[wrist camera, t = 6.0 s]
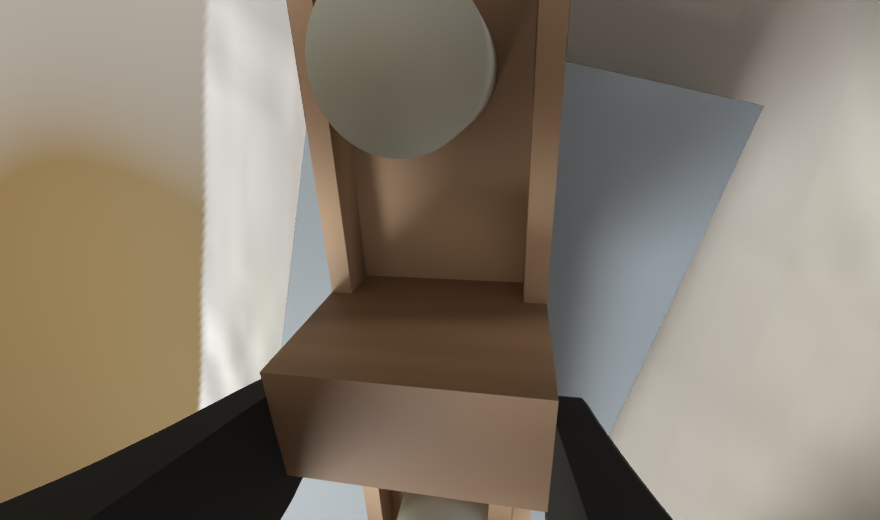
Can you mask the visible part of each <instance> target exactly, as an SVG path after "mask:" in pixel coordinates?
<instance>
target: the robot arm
mask: <svg viewBox="0 0 880 520" xmlns="http://www.w3.org/2000/svg"><path fill="white" fill-rule="evenodd" d="M558 399H559V403H558V413H557V423H556V432H555V442H554V452H553V463H552V473H551V482H550V492H549V502H548V512H545V520H673V519H672V518H671V517H670V516H669V514H668V513H667V512H666V511H665V509H664V508H663V507H662V506H661V505H660V503H659V502H658V501H657V500H656V498H655V497H654V496H653V494H652V493H651V492H650V491H649V489H648V488H647V487H646V485H645V484H644V483H643V482H642V480H641V479H640V478H639V476H638V475H637V474H636V473H635V471H634V470H633V469H632V467H631V466H630V465H629V463H628V462H627V461H626V459H625V458H624V457H623V455H622V454H621V453H620V451H619V450H618V448H617V447H616V446H615V444H614V443H613V441H612V440H611V439H610V437H609V436H608V434H607V433H606V431H605V430H604V428H603V427H602V426H601V424H600V423H599V421H598V420H597V418H596V417H595V415H594V413H593V412H592V410H591V409H590V407H589V406H588V404H587V403H586V402H585V401H584V400H583V399H582V398H580V397H568V396H558ZM302 479H303V477H297V476H290V475H287V472H286V468H285V465H284V461H283V457H282V454H281V450H280V447H279V443H278V440H277V436H276V433H275V429H274V425H273V421H272V417H271V413H270V410H269V406H268V402H267V398H266V394H265V390H264V386H263V382H262V379H260V380H258V381H256V382H254V383H252V384H250V385H248V386H246V387H244V388H242V389H240V390H238V391H236V392H234V393H232V394H230V395H228V396H227V397H225V398H223V399H221V400H219V401H217V402H215V403H213V404H211V405H209V406H207V407H205V408H204V409H202V410H200V411H198V412H196V413H194V414H192V415H190V416H188V417H186V418H184V419H182V420H181V421H179V422H177V423H175V424H173V425H171V426H169V427H167V428H165V429H163V430H161V431H159V432H157V433H155V434H153V435H151V436H149V437H147V438H145V439H143V440H141V441H138V442H136V443H135V444H132V445H130V446H128V447H126V448H124V449H122V450H120V451H118V452H116V453H114V454H112V455H110V456H108V457H106V458H104V459H102V460H100V461H98V462H95V463H93V464H91V465H89V466H87V467H84V468H82V469H80V470H78V471H76V472H73V473H71V474H69V475H67V476H64V477H62V478H60V479H58V480H55V481H53V482H50V483H48V484H46V485H44V486H41V487H39V488H36V489H34V490H32V491H29V492H27V493H24V494H22V495H20V496H17V497H15V498H13V499H10V500H8V501H5V502H3V503H0V520H281V518H282V517H283V515H284V513H285V512H286V510H287V508H288V506H289V505H290V503H291V501H292V499H293V497H294V495H295V493H296V491H297V489H298V487H299V485H300V483H301V481H302Z"/></svg>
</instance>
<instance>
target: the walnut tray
mask: <svg viewBox="0 0 880 520" xmlns="http://www.w3.org/2000/svg"><path fill="white" fill-rule="evenodd" d="M286 1H287V8H288V14H289V20H290V27H291V33H292V39H293V46H294V52H295V58H296V65H297V71H298V78H299V84H300V90H301V97H302V103H303V109H304V116H305V122H306V128H307V135H308V141H309V148H310V154H311V160H312V167H313V173H314V179H315V186H316V192H317V198H318V205H319V211H320V218H321V224H322V230H323V237H324V243H325V249H326V256H327V262H328V268H329V275H330V281H331V288H332V293H331V294H330V295H329V296H328V297H327V298H326V300H325V301H324V302H323V303H322V304H321V305H320V306H319V307H318V308H317V310H316V311H315V312H314V313H313V314H312V315H311V316H310V317H309V318H308V319H307V321H306V322H305V323H304V324H303V325H302V326H301V327H300V328H299V329H298V331H297V332H296V333H295V334H294V335H293V336H292V337H291V338H290V339H289V341H288V342H287V343H286V344H285V345H284V346H283V347H282V348H281V349H280V351H279V352H278V353H277V354H276V355H275V356H274V357H273V358H272V359H271V360H270V362H269V363H268V364H267V365H266V366H265V367H264V368H263V369H262V370H261V372H260V375H261V379H262V382H263V386H264V390H265V394H266V398H267V402H268V406H269V410H270V413H271V417H272V421H273V425H274V429H275V433H276V436H277V440H278V443H279V447H280V450H281V454H282V457H283V461H284V465H285V468H286V472H287V475H290V476H297V477H304V478H311V479H318V480H325V481H332V482H339V483H346V484H353V485H360V486H363V491H364V498H365V504H366V510H367V517H368V520H530V515H531V510H534V511H541V512H548V502H549V492H550V482H551V473H552V463H553V452H554V442H555V432H556V423H557V413H558V403H559V399H558V391H557V383H556V374H555V366H554V358H553V350H552V342H551V334H550V326H549V318H548V309H547V295H548V282H549V269H550V256H551V243H552V230H553V217H554V204H555V191H556V179H557V166H558V153H559V140H560V127H561V114H562V101H563V88H564V75H565V62H566V49H567V36H568V23H569V10H570V0H286Z"/></svg>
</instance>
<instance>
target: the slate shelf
mask: <svg viewBox="0 0 880 520" xmlns="http://www.w3.org/2000/svg"><path fill="white" fill-rule="evenodd" d="M762 108H763V105H758V104H754V103H749V102H745V101H740V100H736V99H731V98H727V97H722V96H718V95H713V94H709V93H705V92H700V91H696V90H691V89H687V88H682V87H678V86H673V85H669V84H664V83H660V82H655V81H651V80H647V79H642V78H638V77H633V76H629V75H624V74H620V73H615V72H611V71H606V70H602V69H598V68H593V67H589V66H584V65H580V64H575V63H571V62H565V75H564V88H563V101H562V114H561V127H560V140H559V153H558V166H557V179H556V191H555V204H554V217H553V230H552V243H551V256H550V269H549V282H548V295H547V309H548V318H549V326H550V334H551V342H552V350H553V358H554V366H555V374H556V383H557V391H558V396H568V397H580V398H582V399H583V400H584V401H585V402H586V403H587V404H588V406H589V407H590V409H591V410H592V412H593V413H594V415H595V417H596V418H597V420H598V421H599V423H600V424H601V426H602V427H603V428H604V430H605V431H606V433H607V434H608V436H609V435H610V433H611V430H612V428H613V426H614V424H615V422H616V420H617V418H618V416H619V413H620V411H621V409H622V407H623V405H624V403H625V401H626V398H627V396H628V394H629V392H630V390H631V388H632V386H633V384H634V381H635V379H636V377H637V375H638V373H639V371H640V369H641V366H642V364H643V362H644V360H645V358H646V356H647V354H648V352H649V349H650V347H651V345H652V343H653V341H654V339H655V337H656V334H657V332H658V330H659V328H660V326H661V324H662V322H663V320H664V317H665V315H666V313H667V311H668V309H669V307H670V305H671V302H672V300H673V298H674V296H675V294H676V292H677V290H678V288H679V285H680V283H681V281H682V279H683V277H684V275H685V273H686V270H687V268H688V266H689V264H690V262H691V260H692V258H693V256H694V253H695V251H696V249H697V247H698V245H699V243H700V241H701V238H702V236H703V234H704V232H705V230H706V228H707V226H708V224H709V221H710V219H711V217H712V215H713V213H714V211H715V209H716V206H717V204H718V202H719V200H720V198H721V196H722V194H723V191H724V189H725V187H726V185H727V183H728V181H729V179H730V177H731V174H732V172H733V170H734V168H735V166H736V164H737V162H738V159H739V157H740V155H741V153H742V151H743V149H744V147H745V145H746V142H747V140H748V138H749V136H750V134H751V132H752V130H753V127H754V125H755V123H756V121H757V119H758V117H759V115H760V113H761V110H762ZM331 293H332V288H331V281H330V275H329V268H328V262H327V256H326V249H325V243H324V237H323V230H322V224H321V218H320V211H319V205H318V198H317V192H316V186H315V179H314V173H313V167H312V160H311V154H310V148H309V141H308V135H307V128H306V134H305V143H304V152H303V161H302V170H301V179H300V187H299V196H298V205H297V214H296V223H295V232H294V241H293V249H292V258H291V267H290V276H289V285H288V294H287V303H286V311H285V320H284V329H283V338H282V347H283V346H284V345H285V344H286V343H287V342H288V341H289V339H290V338H291V337H292V336H293V335H294V334H295V333H296V332H297V331H298V329H299V328H300V327H301V326H302V325H303V324H304V323H305V322H306V321H307V319H308V318H309V317H310V316H311V315H312V314H313V313H314V312H315V311H316V310H317V308H318V307H319V306H320V305H321V304H322V303H323V302H324V301H325V300H326V298H327V297H328V296H329V295H330V294H331ZM282 347H281V348H282ZM281 520H368V517H367V510H366V504H365V498H364V491H363V486H360V485H353V484H346V483H339V482H332V481H325V480H318V479H311V478H304V477H303V479H302V481H301V483H300V485H299V487H298V489H297V491H296V493H295V495H294V497H293V499H292V501H291V503H290V505H289V506H288V508H287V510H286V512H285V513H284V515H283V517H282V518H281ZM530 520H545V512H541V511H534V510H531V515H530Z"/></svg>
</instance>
